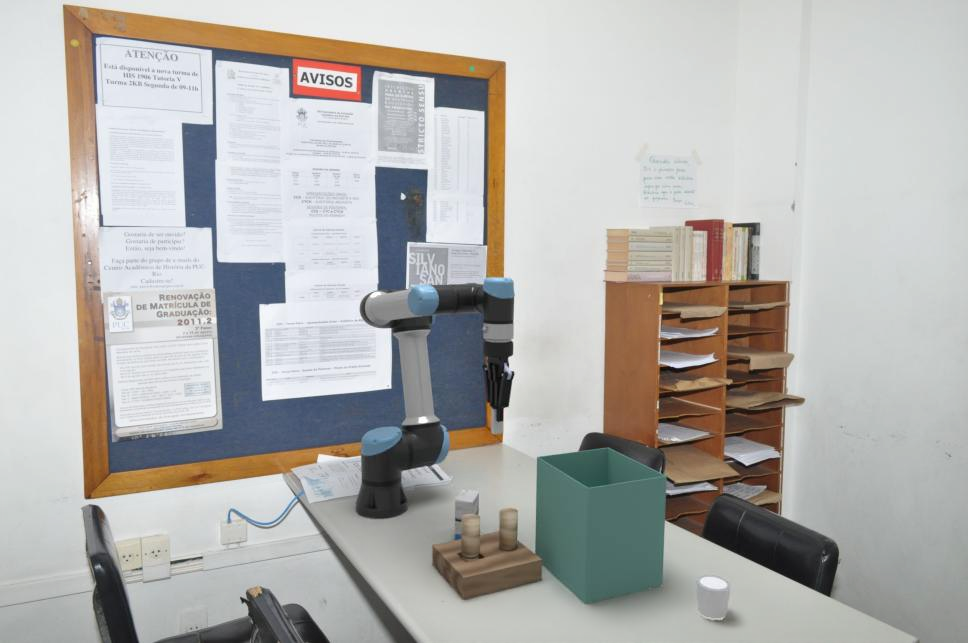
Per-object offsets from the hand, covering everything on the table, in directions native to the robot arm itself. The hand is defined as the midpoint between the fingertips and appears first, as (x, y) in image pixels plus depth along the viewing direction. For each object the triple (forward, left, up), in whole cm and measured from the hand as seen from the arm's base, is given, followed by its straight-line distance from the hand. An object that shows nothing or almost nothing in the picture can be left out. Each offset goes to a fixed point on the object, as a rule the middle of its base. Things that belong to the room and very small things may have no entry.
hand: (497, 433), depth 168 cm
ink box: (-9, -4, -31) cm, 32 cm away
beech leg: (+10, -12, -30) cm, 34 cm away
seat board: (+10, -8, -30) cm, 33 cm away
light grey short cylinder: (+47, +27, -31) cm, 62 cm away
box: (+21, +16, -31) cm, 40 cm away
